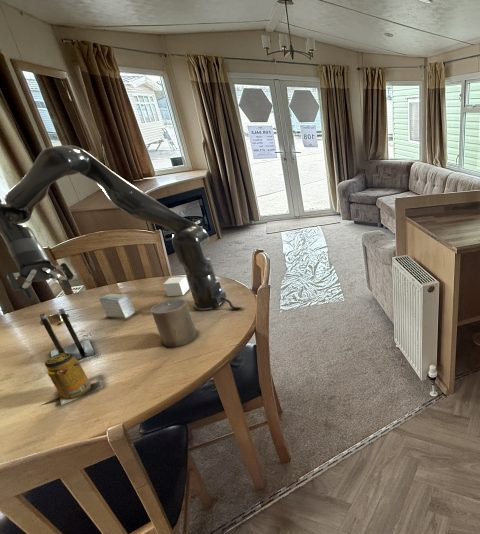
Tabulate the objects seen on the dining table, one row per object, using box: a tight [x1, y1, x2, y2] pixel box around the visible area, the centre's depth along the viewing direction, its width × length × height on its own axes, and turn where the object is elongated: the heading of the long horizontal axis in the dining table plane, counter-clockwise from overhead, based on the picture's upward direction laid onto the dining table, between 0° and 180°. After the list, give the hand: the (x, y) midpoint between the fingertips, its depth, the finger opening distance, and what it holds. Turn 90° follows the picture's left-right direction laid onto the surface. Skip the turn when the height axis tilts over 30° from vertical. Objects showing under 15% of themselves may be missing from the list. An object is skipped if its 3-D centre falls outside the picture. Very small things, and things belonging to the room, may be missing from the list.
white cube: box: [162, 276, 190, 297], centre depth 147 cm, size 6×6×6 cm
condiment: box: [44, 353, 104, 406], centre depth 93 cm, size 7×8×12 cm
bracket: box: [39, 308, 96, 361], centre depth 106 cm, size 12×9×16 cm
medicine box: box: [99, 293, 137, 319], centre depth 128 cm, size 8×4×9 cm, turn 84°
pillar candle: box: [150, 298, 198, 348], centre depth 115 cm, size 10×10×15 cm
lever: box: [47, 313, 65, 328], centre depth 107 cm, size 14×4×4 cm, turn 50°
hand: (51, 294), depth 116 cm, fingers open, 8 cm apart
